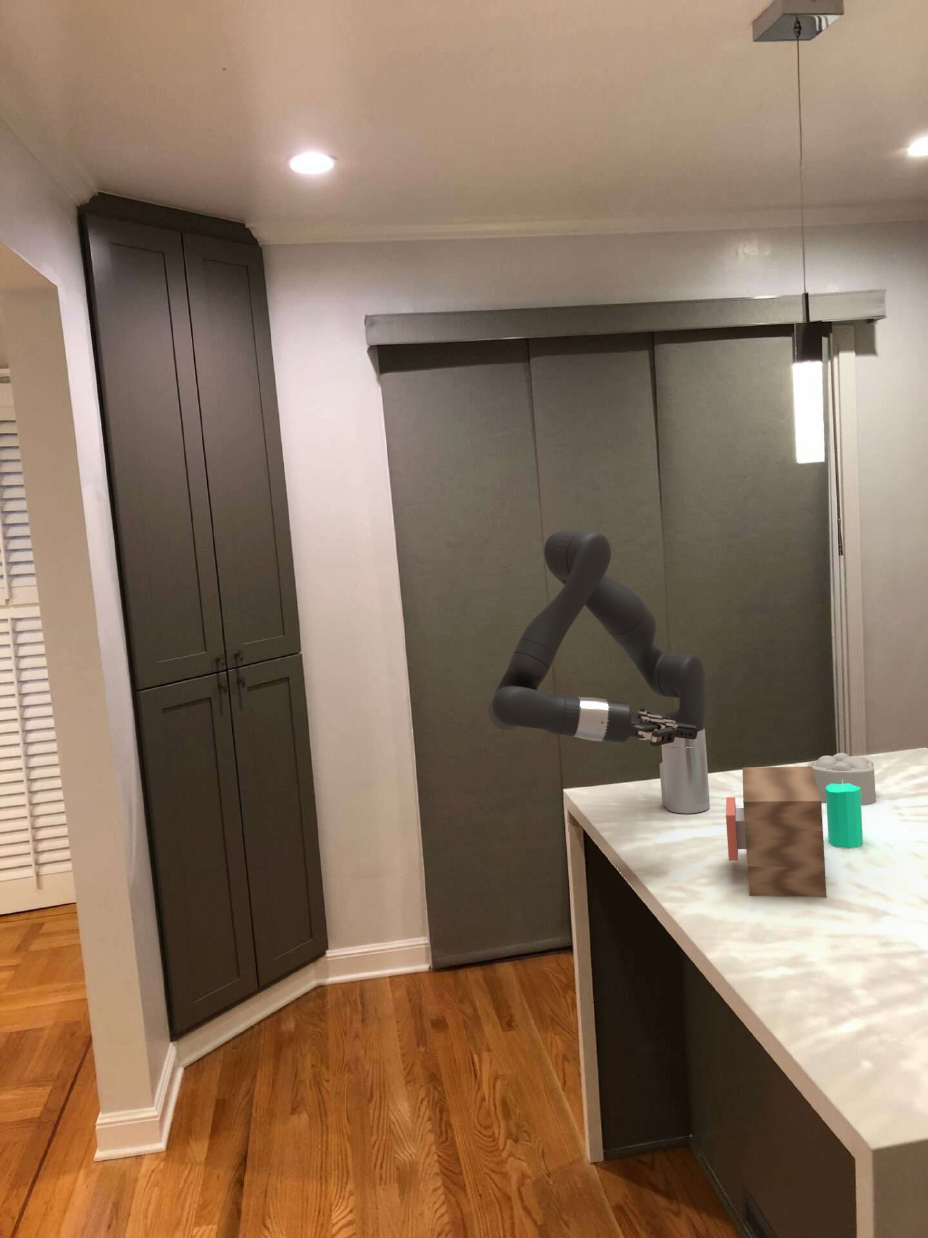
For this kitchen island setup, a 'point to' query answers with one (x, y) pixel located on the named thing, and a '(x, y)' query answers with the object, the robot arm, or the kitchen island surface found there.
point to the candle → (844, 815)
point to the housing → (783, 832)
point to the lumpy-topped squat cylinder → (845, 775)
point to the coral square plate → (735, 828)
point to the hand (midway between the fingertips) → (695, 732)
